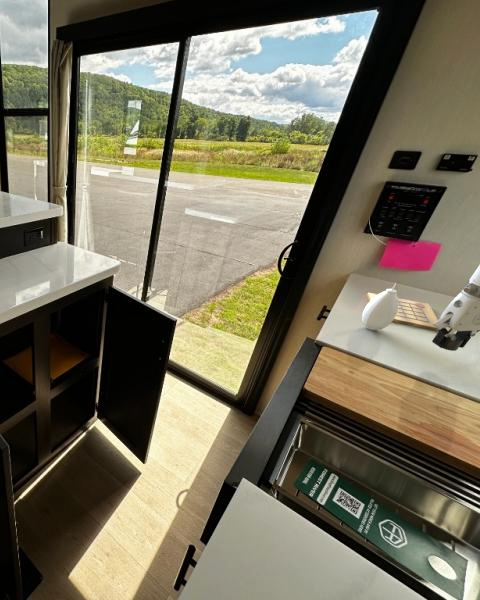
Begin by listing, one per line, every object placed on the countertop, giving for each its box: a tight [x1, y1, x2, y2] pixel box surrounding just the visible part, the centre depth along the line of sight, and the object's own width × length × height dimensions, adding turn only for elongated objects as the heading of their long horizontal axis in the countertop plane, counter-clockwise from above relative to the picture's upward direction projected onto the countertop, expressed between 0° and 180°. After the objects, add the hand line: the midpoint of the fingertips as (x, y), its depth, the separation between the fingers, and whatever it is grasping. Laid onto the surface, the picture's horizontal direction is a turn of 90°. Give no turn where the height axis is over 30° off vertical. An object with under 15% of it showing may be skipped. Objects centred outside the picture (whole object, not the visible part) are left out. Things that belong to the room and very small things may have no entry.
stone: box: [442, 332, 464, 352], centre depth 91 cm, size 4×4×3 cm
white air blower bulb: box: [361, 282, 399, 331], centre depth 104 cm, size 8×8×18 cm
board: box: [366, 292, 439, 332], centre depth 116 cm, size 18×18×1 cm
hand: (447, 344), depth 92 cm, fingers closed on stone, 4 cm apart
